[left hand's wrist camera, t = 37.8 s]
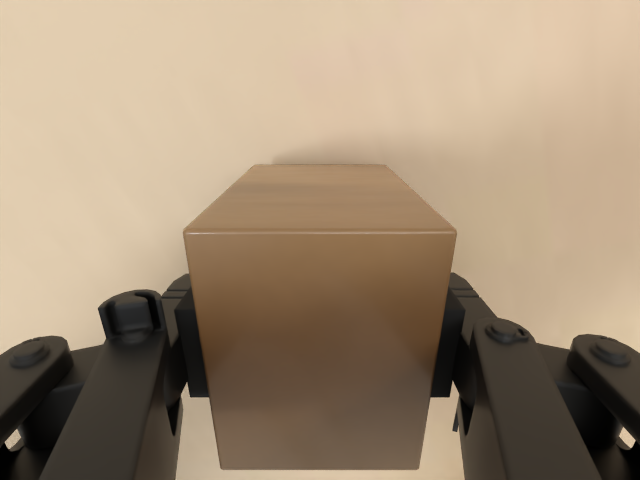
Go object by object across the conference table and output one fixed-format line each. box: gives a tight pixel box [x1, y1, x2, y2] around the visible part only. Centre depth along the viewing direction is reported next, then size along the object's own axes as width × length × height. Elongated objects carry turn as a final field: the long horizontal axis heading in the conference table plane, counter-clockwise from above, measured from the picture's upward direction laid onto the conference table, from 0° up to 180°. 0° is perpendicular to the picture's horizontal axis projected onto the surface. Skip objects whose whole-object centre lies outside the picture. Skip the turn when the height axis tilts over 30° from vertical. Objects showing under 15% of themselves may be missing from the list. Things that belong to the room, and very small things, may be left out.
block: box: [183, 165, 457, 470], centre depth 11 cm, size 7×5×8 cm
